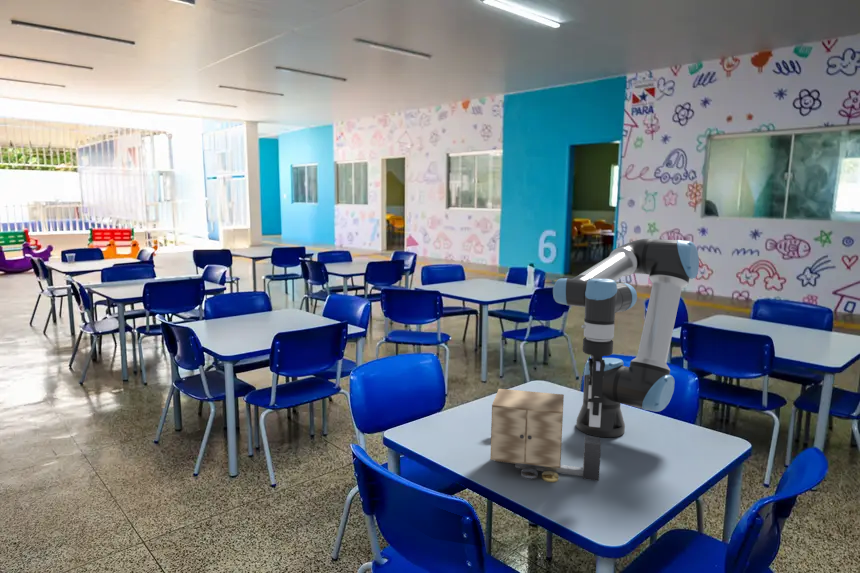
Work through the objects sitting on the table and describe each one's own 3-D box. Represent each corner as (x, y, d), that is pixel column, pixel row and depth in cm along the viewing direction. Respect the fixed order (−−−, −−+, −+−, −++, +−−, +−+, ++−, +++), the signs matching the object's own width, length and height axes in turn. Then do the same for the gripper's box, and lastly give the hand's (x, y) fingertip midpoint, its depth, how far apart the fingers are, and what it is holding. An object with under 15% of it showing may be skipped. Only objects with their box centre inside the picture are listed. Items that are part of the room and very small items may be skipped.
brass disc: (558, 476, 150) (558, 472, 150) (558, 484, 146) (558, 479, 146) (542, 474, 151) (542, 470, 151) (541, 482, 147) (541, 477, 147)
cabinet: (560, 463, 157) (563, 394, 155) (559, 488, 143) (562, 413, 140) (496, 455, 162) (498, 388, 159) (489, 479, 147) (491, 406, 145)
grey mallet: (598, 472, 152) (600, 437, 151) (598, 480, 147) (600, 444, 146) (516, 462, 157) (517, 428, 156) (514, 470, 153) (516, 435, 151)
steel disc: (537, 474, 151) (538, 469, 151) (536, 481, 147) (537, 477, 147) (521, 471, 152) (521, 467, 152) (520, 479, 148) (520, 475, 148)
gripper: (582, 328, 158) (578, 400, 161) (584, 348, 134) (579, 433, 137) (610, 330, 156) (605, 403, 159) (617, 350, 132) (611, 436, 135)
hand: (593, 417), depth 148 cm, fingers open, 13 cm apart
